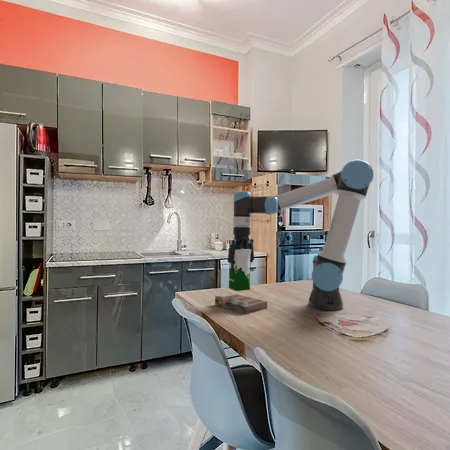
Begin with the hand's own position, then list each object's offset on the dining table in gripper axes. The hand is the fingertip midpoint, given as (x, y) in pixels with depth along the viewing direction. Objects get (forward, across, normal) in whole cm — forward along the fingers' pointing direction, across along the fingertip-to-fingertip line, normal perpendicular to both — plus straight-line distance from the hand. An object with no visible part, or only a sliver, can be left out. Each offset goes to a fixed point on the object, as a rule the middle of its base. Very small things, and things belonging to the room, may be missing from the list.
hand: (240, 277), depth 147 cm
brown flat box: (+13, 0, 0) cm, 13 cm away
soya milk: (+5, -1, 0) cm, 5 cm away
